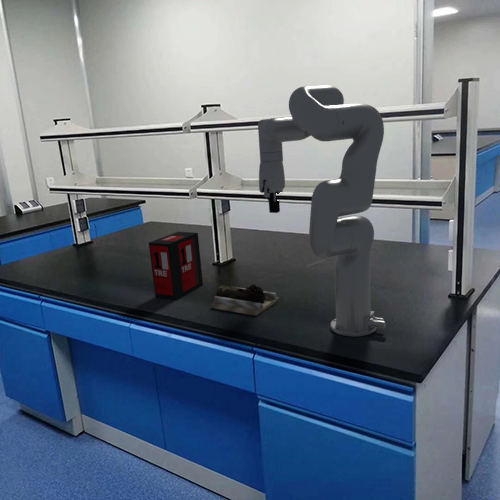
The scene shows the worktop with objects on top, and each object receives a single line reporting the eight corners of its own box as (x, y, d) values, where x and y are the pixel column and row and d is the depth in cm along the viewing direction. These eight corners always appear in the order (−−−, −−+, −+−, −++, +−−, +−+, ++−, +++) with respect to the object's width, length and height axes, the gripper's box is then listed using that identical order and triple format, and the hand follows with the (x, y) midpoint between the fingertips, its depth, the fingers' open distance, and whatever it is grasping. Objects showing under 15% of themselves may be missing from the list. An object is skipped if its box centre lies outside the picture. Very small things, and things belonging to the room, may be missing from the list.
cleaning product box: (183, 283, 191) (177, 231, 186) (203, 285, 187) (197, 232, 182) (155, 297, 178) (148, 242, 173) (175, 300, 173) (169, 244, 168)
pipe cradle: (278, 300, 166) (278, 291, 165) (256, 315, 155) (255, 305, 154) (235, 294, 175) (235, 285, 174) (211, 308, 164) (211, 298, 163)
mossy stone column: (216, 300, 167) (214, 284, 166) (229, 294, 172) (228, 278, 171) (259, 309, 157) (258, 291, 155) (272, 302, 162) (271, 285, 160)
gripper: (272, 155, 175) (275, 207, 179) (249, 160, 163) (253, 216, 167) (292, 155, 171) (294, 208, 175) (269, 159, 159) (273, 217, 163)
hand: (274, 212), depth 171 cm, fingers closed
